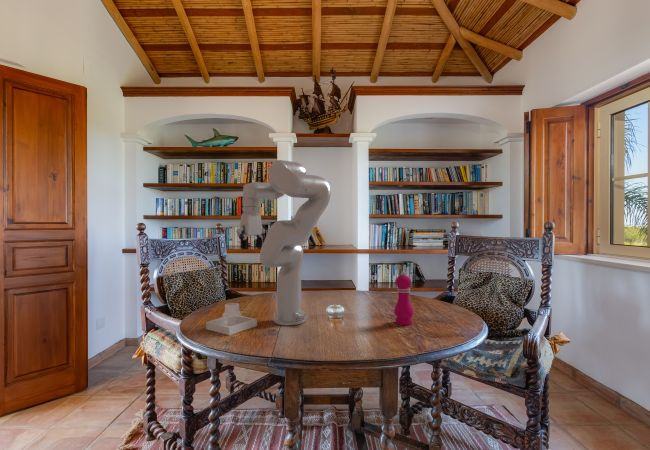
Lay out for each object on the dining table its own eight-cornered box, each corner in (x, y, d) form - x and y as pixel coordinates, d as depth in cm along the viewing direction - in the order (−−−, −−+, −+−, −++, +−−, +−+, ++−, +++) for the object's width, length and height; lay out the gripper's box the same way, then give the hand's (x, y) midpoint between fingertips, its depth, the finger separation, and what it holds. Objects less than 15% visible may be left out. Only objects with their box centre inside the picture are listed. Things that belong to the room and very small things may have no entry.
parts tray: (256, 325, 129) (256, 319, 129) (229, 335, 118) (229, 327, 118) (233, 320, 137) (233, 314, 137) (206, 329, 126) (206, 322, 126)
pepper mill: (415, 321, 133) (414, 270, 133) (411, 326, 126) (411, 272, 126) (396, 319, 136) (396, 269, 136) (392, 324, 129) (391, 272, 129)
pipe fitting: (232, 329, 123) (232, 307, 123) (218, 326, 127) (218, 304, 127) (245, 325, 128) (245, 303, 129) (231, 322, 132) (231, 301, 132)
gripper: (258, 211, 166) (258, 246, 166) (231, 210, 151) (231, 248, 151) (270, 211, 162) (270, 247, 162) (243, 210, 147) (243, 249, 147)
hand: (251, 248), depth 157 cm, fingers open, 9 cm apart
